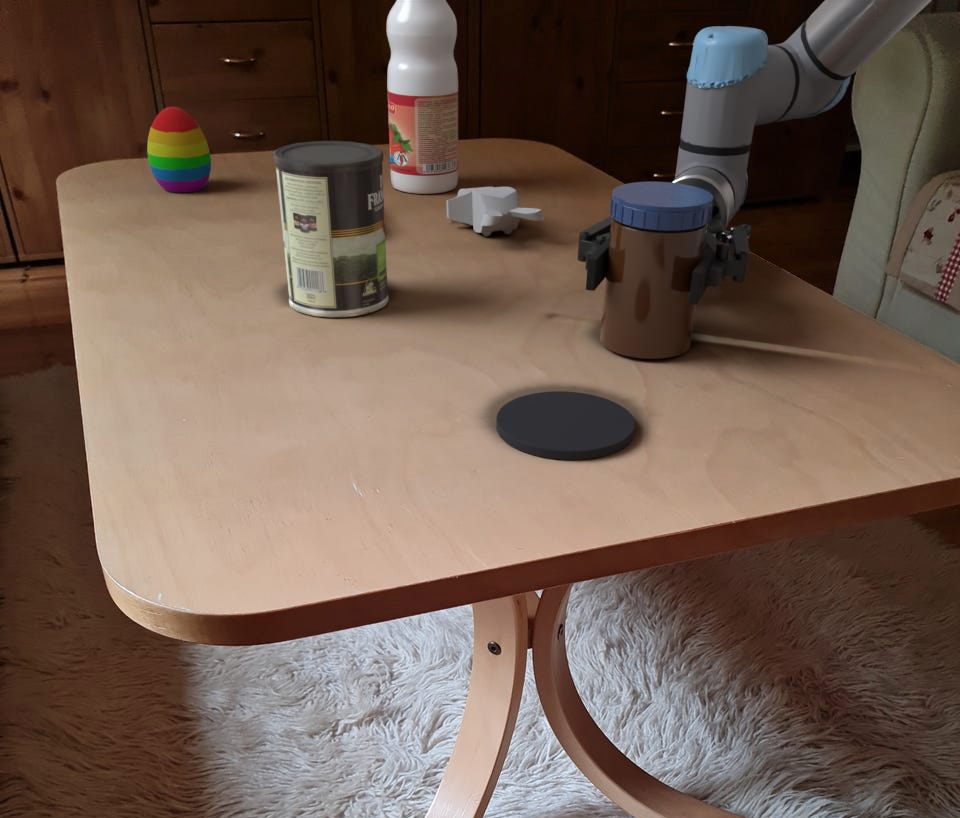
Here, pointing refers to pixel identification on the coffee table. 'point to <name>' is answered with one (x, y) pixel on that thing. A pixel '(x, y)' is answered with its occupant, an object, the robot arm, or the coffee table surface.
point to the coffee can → (333, 227)
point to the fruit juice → (422, 96)
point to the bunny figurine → (490, 209)
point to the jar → (650, 290)
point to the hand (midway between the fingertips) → (642, 281)
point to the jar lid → (661, 206)
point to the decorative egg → (178, 152)
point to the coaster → (565, 425)
